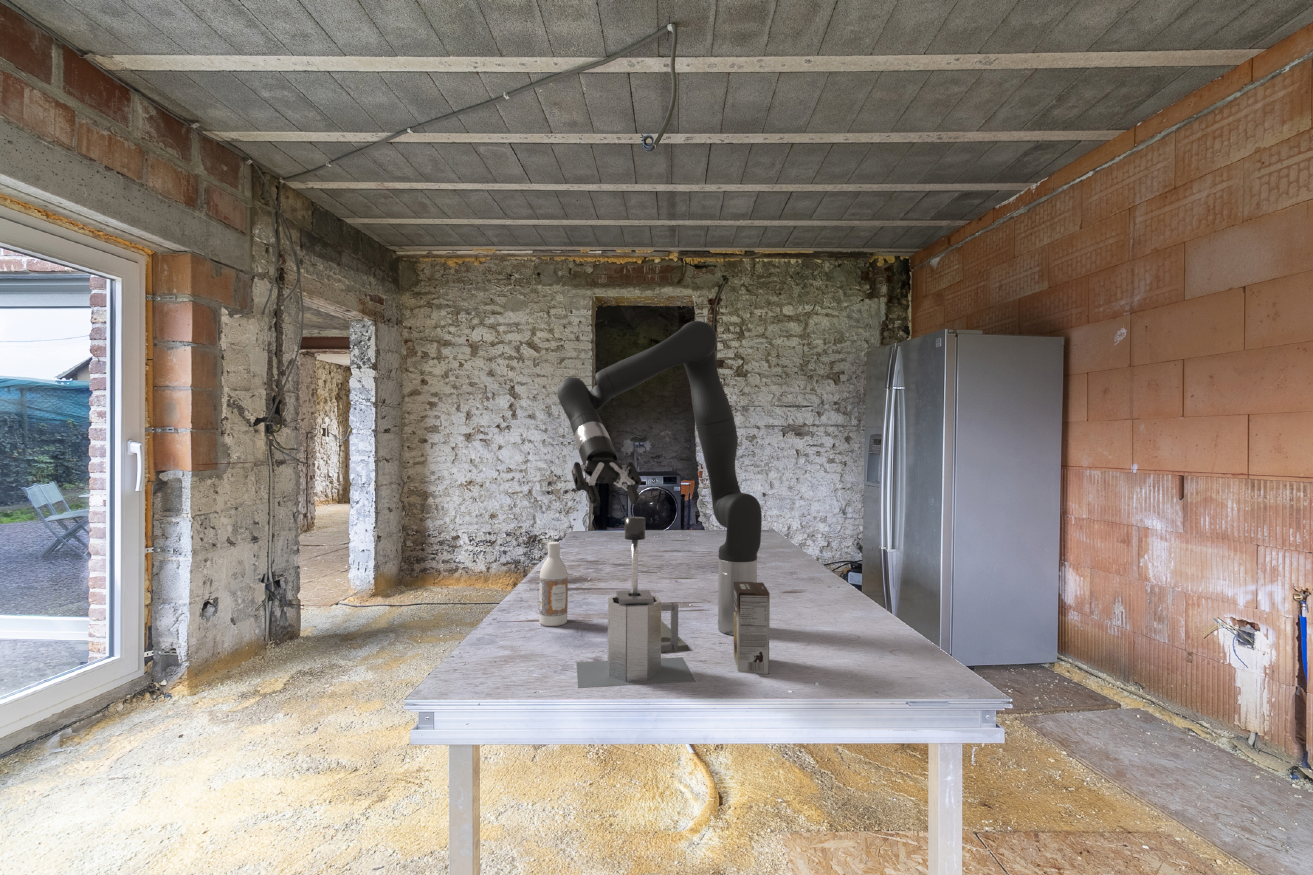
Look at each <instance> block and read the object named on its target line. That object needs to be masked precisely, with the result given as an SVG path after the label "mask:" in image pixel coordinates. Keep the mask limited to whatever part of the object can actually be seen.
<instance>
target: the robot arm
mask: <svg viewBox="0 0 1313 875" xmlns="http://www.w3.org/2000/svg"><path fill="white" fill-rule="evenodd" d="M717 340H718V339H717V334H716V331H715V329H714V328H713V326H711V325H710V324H709V323H707V322H705V321H702V320H692V321H689V322H688V323H685V324H684V325H683V326H682V327H681V328H680V329H679V330H678V331H676V332H675V333H673V334H672V335H670V336H669V337H667V338H666V339H664V340H663V341H661V342H659V343H657V344H655V345H654V346H651V347H650V348H648V349H645V350H643V351H641V352H637V353H636V354H633V355H631V356H628V357H626V358H625V359H622V360H619V361H618V362H615V363H613V364H611V365H609V366H606V367H604V368H603V369H600V370H599V371H597V372H596V373H595V375H594V376H595V377H594V379H595V383H596V384H595V385H594V386H593V388H592V389H588V387H587V384H586V383H585V382H584V381H583V380H582V379H580V378H578V377H574V376H571V377H567V378H564V380H561V382H560V384H559V386H558V388H557V399H558V401H559V404H560V405H561V408H562V409H563V411H564V414H565V415H566V417H567V419H568V421H569V424H570V427H571V431H572V433H573V436H574V439H575V445H576V447H577V451H578V454H579V456H580V459H581V462H582V464H581V463H580V462H579V461H575V462H574V464H573V466H572V469H571V474H572V479H573V483H574V486H575V490H576V491H577V492H581V491H584V492H585V493H586V494H587V497H588V499H589V502H590V503H591V504H592V505H593V507H598V506H599V504H600V503H601V498H600V495H599V492H598V490H597V486H596V483H597V484H598V483H599V484H600V485H604V484H609V485H612V484H613V485H615V486H617V487H618V488H622V489H624V490H625V491H626V494H627V496H628V499H629V502H630V504H631V505H634V506H635V505H636V504H637V502H638V500H639V498H640V495H639V492H638V489H639V487H640V485H641V483H642V478H641V476H640V475H639V473H638V471H637V468H636V466H635V464H634V463H633V462H632V461H628V463H627V464H621V463H620V462H619V460H618V456H617V455H618V454H617V452H616V450H615V447H614V444H613V443H612V440H611V437H610V435H609V432H608V431H607V429H606V428H605V426H604V424H603V421H602V419H601V417H600V415H599V413H598V410H600V409H601V408H602V407H603V406H604V405H606V404H607V403H608V402H610V401H611V399H613V398H615V397H616V396H618V395H619V396H620V394H623V393H625V392H627V391H629V390H632V389H633V388H635V387H637V386H640V385H641V384H642V383H643V384H644V383H645V382H646V381H649V379H651V378H653V377H655V376H657V375H659V374H661V373H663V372H665V371H667V370H670V369H672V368H674V367H677V366H680V365H682V364H683V366H684V369H685V372H686V375H687V379H688V381H689V386H690V388H689V389H690V395H691V404H692V412H693V416H694V422H695V426H696V431H697V436H698V439H699V443H700V446H701V451H702V455H703V460H704V463H705V467H706V470H707V476H708V480H709V489H710V495H711V496H710V497H711V503H712V510H713V515H714V517H715V520H716V521H717V522H718V524H719V525H721V527H723V528H726V538H725V541H724V543H723V544H722V545H720V546H719V548H718V590H717V591H718V592H717V594H718V596H717V598H718V602H717V603H718V605H717V609H718V610H717V611H718V612H717V613H718V614H717V618H718V619H717V626H718V627H717V628H718V629H717V630H718V631H719V632H721V633H723V634H725V635H730V636H734V582H758V553H759V550H760V547H761V543H762V542H761V539H762V521H763V514H762V507H761V504H760V502H759V501H758V498H756V497H755V496H754V495H752V494H749V493H745V492H742V490H741V488H740V486H739V481H738V477H737V473H736V459H737V452H738V451H737V450H738V431H737V426H736V422H735V418H734V414H733V411H732V408H731V405H730V402H729V399H728V396H727V393H726V391H725V389H724V387H723V384H722V382H721V379H720V375H719V370H718V367H717V359H716V350H715V349H716V346H717V342H718V341H717ZM584 473H585V474H586V475H587V476H589V479H588V481H585V477H584ZM619 476H620V479H618V478H619Z"/></svg>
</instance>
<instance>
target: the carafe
mask: <svg viewBox="0 0 1313 875" xmlns="http://www.w3.org/2000/svg"><path fill="white" fill-rule="evenodd" d="M631 604H637V606H631ZM662 612H670V629H671V642H661V620H662ZM678 636H679V603H678V602H677V601H675V602H662V601H661V599H660V597H659V596H658V595H654V594H653V595H652V593H651V592H650V590H649V589H643V590H639V589H638V596H631V590H616V591H615V595H613V596H610V597H608V599H607V661H608V673H609V677H611V678H615V679H618V680H621V681H624V682H626V681H627V682H636V681H647V680H648V681H649V680H651V679H652V678H654V677H656V676H658V675H660V674H661V658H662V653H661V651H674V652H676V651H675V650H678Z"/></svg>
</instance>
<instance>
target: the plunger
mask: <svg viewBox="0 0 1313 875" xmlns="http://www.w3.org/2000/svg"><path fill="white" fill-rule="evenodd" d="M624 539H625V540H627V541H631V589H630V591H631V596H638V590H639V589H638V588H639V587H638V586H639V585H638V581H639V580H638V578H639V575H638V574H639V570H638V568H639V565H638V564H639V561H638V560H639V541H641V540H645V539H646V517H643V516H626V517H624ZM631 606H637V604H631Z"/></svg>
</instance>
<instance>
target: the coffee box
mask: <svg viewBox="0 0 1313 875" xmlns="http://www.w3.org/2000/svg"><path fill="white" fill-rule="evenodd" d="M770 595H771V594H770V592H769V590H768V588H767V586H766V585H765V583H764V582H762V581H761V582H758V581H757V582H734V635H733V658H734V662H735V666H736V670H737V672H739V673H755V674H757V673H759V674H758V675H769V674H768V673H770V621H771V620H770V619H771V618H770V617H771V616H770V615H771V613H770V612H771V611H770V608H771V606H770V605H771V604H770V601H771V599H770V598H771V597H770ZM761 673H762V674H761Z"/></svg>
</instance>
